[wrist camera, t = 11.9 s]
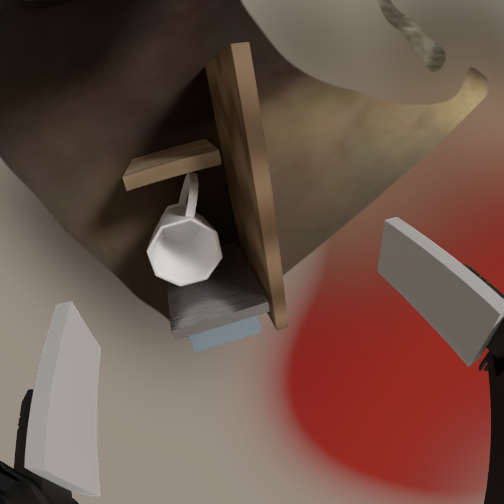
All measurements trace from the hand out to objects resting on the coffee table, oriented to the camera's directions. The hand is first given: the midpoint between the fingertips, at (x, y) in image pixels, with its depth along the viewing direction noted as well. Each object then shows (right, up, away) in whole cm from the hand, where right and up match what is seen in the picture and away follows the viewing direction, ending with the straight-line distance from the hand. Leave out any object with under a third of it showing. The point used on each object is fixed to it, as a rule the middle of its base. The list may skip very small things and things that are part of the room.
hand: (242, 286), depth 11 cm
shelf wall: (-2, +10, +20) cm, 23 cm away
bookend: (-6, +1, +24) cm, 25 cm away
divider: (-8, +12, +17) cm, 22 cm away
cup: (-8, +6, +21) cm, 23 cm away
